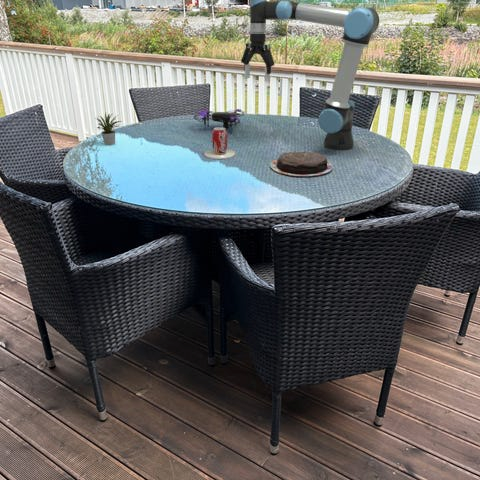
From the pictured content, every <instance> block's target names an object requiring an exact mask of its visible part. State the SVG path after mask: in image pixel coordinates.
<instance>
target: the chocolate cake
mask: <svg viewBox="0 0 480 480" xmlns="http://www.w3.org/2000/svg"><path fill="white" fill-rule="evenodd" d="M269 167H270V168H271V169H272V170H273V171H274V172H276V173H277V174H280V175H287V176H290V177H292V178H297V177H299V178H300V177H306V178H314V177H322V176H324V175H327V174H328V173H331V171H332V170H333V164H332V163H331V162H330V161H328V159H327V157H326V155H322V154H320V153H318V152H317V151H316V152H315V151H289V152H284V153H282V154H280V155H279V157H278V158H277V159H275V160H272V161H271V162H270V165H269Z"/></svg>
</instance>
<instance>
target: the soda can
mask: <svg viewBox="0 0 480 480" xmlns="http://www.w3.org/2000/svg"><path fill="white" fill-rule="evenodd" d="M211 134H212V135H211V136H212V138H211V139H212V140H211V141H212V149H213V152H214V153H215V154H218V155H222V154H225V153H226V152H227V149H228V133H227V129H226V128H224V127H223V126H215V127H213V130H212V133H211Z"/></svg>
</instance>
